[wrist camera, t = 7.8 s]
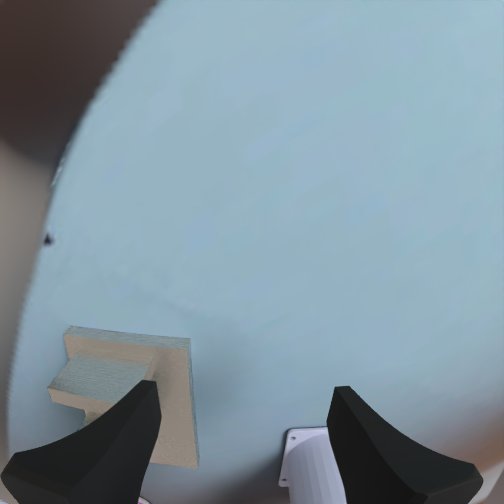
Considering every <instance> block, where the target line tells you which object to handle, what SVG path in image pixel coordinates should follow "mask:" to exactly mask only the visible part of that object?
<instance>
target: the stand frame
mask: <svg viewBox="0 0 504 504" xmlns="http://www.w3.org/2000/svg"><path fill="white" fill-rule="evenodd" d="M63 336H64V341H65V345H66V349H67V353H68V357H69V362H68V363H67V364H66V365H65V367H64V368H63V369H62V370H61V371H60V373H59V374H58V375H57V376H56V378H55V379H54V380H53V381H52V383H51V384H50V385H49V386H48V391H49V394H50V396H51V399H52V402H55V403H59V404H63V405H67V406H70V407H74V408H78V409H82V410H84V411H85V414H86V417H87V420H88V422H89V424H90V423H92V422H93V421H94V420H96V419H97V418H99V417H100V416H101V415H102V414H104V413H105V412H106V411H108V410H109V409H110V408H111V407H112V406H114V405H115V404H116V403H117V402H118V401H119V400H120V399H122V398H123V397H124V396H125V395H126V394H127V393H128V392H129V391H130V390H131V389H132V388H133V387H134V386H136V385H137V384H138V383H139V382H140V381H141V380H150V381H156V383H157V390H158V396H159V402H160V408H161V414H162V419H161V424H160V429H159V434H158V438H157V441H156V444H155V447H154V450H153V452H152V455H151V458H150V461H149V462H151V463H158V464H165V465H172V466H180V467H189V468H198V464H199V458H200V457H199V448H198V438H197V428H196V417H195V406H194V394H193V380H192V365H191V349H190V339H188V338H175V337H163V336H151V335H141V334H132V333H123V332H114V331H106V330H98V329H91V328H84V327H77V326H71V327H70V328H69V329H68V330H67V331H66V332H65V333H64V334H63Z"/></svg>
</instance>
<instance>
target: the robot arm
mask: <svg viewBox="0 0 504 504" xmlns="http://www.w3.org/2000/svg"><path fill="white" fill-rule="evenodd" d="M161 419H162V414H161V408H160V402H159V396H158V390H157V383H156V381H150V380H141V381H140V382H139V383H138V384H137V385H136V386H134V387H133V388H132V389H131V390H130V391H129V392H128V393H127V394H126V395H125V396H124V397H123V398H122V399H120V400H119V401H118V402H117V403H116V404H115V405H114V406H112V407H111V408H110V409H109V410H108V411H106V412H105V413H104V414H102V415H101V416H100V417H99V418H97V419H96V420H94V421H93V422H92V423H90V424H89V425H87V426H85V427H84V428H82V429H80V430H79V431H77V432H75V433H73V434H71V435H69V436H67V437H65V438H62V439H60V440H58V441H56V442H53V443H50V444H48V445H45V446H42V447H38V448H35V449H31V450H27V451H22V452H17V453H15V454H14V455H13V456H12V458H11V459H10V461H9V462H8V464H7V465H6V467H5V468H4V470H3V472H2V473H1V479H2V482H3V484H4V485H5V487H6V488H7V489H8V491H9V492H10V493H11V494H12V495H13V497H14V498H15V499H16V500H17V502H18V503H19V504H138V501H139V496H140V491H141V486H142V482H143V478H144V475H145V472H146V469H147V467H148V464H149V461H150V458H151V455H152V452H153V450H154V447H155V444H156V441H157V438H158V434H159V429H160V424H161ZM326 422H327V427H322V428H304V429H291V430H289V431H288V433H287V439H286V445H285V451H284V456H283V462H282V467H281V472H280V477H279V486H281V487H289V496H290V504H468V503H469V502H470V500H471V499H472V498H473V497H474V496H475V495H476V494H477V492H478V491H479V490H480V488H481V486H482V484H483V478H482V476H481V475H480V473H479V471H478V470H477V468H476V467H475V465H474V464H472V463H468V462H464V461H460V460H457V459H453V458H450V457H447V456H445V455H442V454H439V453H437V452H435V451H432V450H430V449H428V448H426V447H424V446H422V445H420V444H419V443H417V442H415V441H413V440H412V439H410V438H409V437H407V436H405V435H404V434H402V433H401V432H400V431H398V430H397V429H395V428H394V427H393V426H392V425H390V424H389V423H388V422H387V421H385V420H384V419H383V418H382V417H381V416H379V415H378V414H377V413H376V412H375V411H374V410H373V409H372V408H371V407H370V406H369V405H368V404H367V403H366V402H365V401H364V400H363V399H362V398H361V397H360V396H359V395H358V394H357V393H356V392H355V391H354V390H353V389H352V388H351V387H350V386H339V387H335V388H334V393H333V397H332V401H331V405H330V409H329V413H328V417H327V421H326ZM291 437H293V438H291ZM0 504H8V503H7V502H5V501H3V500H2V499H0Z"/></svg>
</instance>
